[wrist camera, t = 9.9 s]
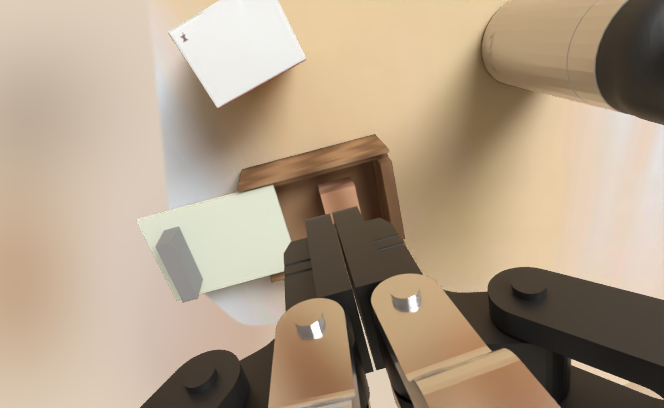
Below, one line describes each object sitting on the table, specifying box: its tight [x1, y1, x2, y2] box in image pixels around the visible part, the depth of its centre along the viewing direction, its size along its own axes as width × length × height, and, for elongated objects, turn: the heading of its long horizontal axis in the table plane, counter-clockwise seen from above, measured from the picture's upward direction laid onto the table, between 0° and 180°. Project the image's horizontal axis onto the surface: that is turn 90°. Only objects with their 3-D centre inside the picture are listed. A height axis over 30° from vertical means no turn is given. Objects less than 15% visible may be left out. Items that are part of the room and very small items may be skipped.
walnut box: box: [238, 134, 406, 283], centre depth 46 cm, size 16×12×6 cm
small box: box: [168, 0, 306, 108], centre depth 35 cm, size 8×6×13 cm
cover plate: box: [137, 183, 292, 302], centre depth 42 cm, size 14×11×4 cm
